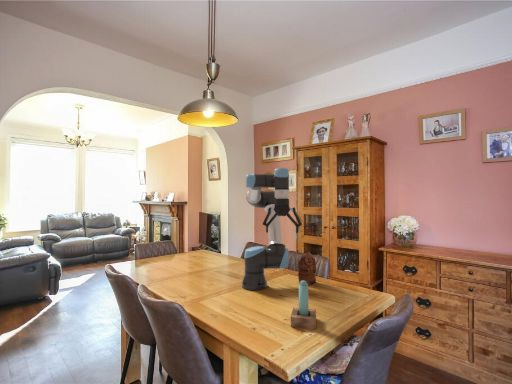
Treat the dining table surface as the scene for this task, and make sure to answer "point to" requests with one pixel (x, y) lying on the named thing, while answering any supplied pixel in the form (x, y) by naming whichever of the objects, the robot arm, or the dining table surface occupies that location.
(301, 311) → the teal long bar
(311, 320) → the brown open box
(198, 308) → the dining table surface
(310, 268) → the wooden figurine
